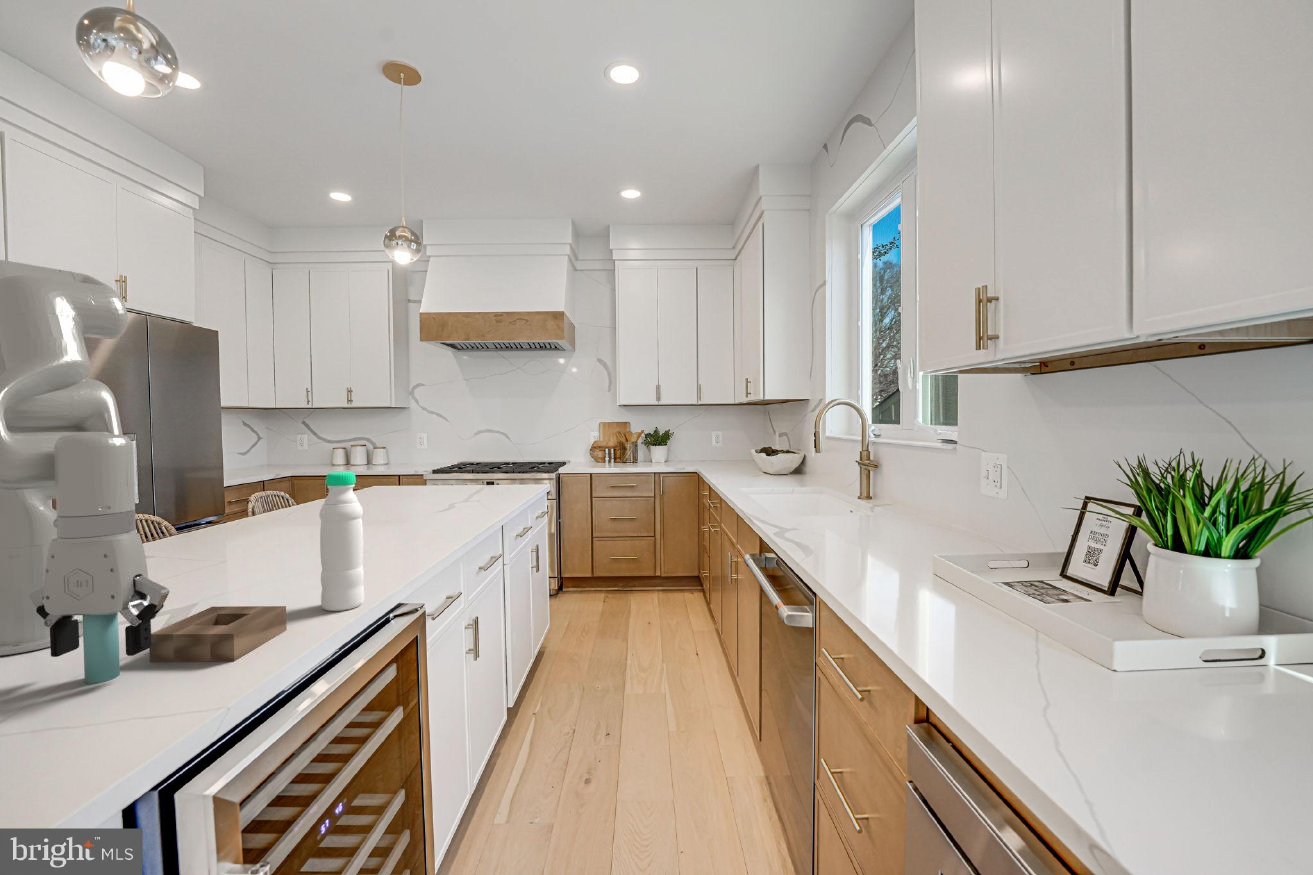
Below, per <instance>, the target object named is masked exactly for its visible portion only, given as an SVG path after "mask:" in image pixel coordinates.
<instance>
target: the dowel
mask: <svg viewBox="0 0 1313 875" xmlns="http://www.w3.org/2000/svg"><path fill="white" fill-rule="evenodd" d="M81 616H82V620H83V635H82V640H83V641H82V642H83V644H82V645H83V669H84V670H83V671H84V683H85V684H86V685H92V684H93V685H94V684H100V683H105V682H108V681H111V680H113V679H116V678H118V677H120V675H121V669H120V668H121V667H120V663H121V662H120V640H119V638H120V637H119V636H120V635H119V612H118V613H115V614H110V615H81Z"/></svg>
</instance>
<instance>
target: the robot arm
mask: <svg viewBox="0 0 1313 875" xmlns="http://www.w3.org/2000/svg"><path fill="white" fill-rule="evenodd" d="M128 320H129V319H128V311H127V307H126V305H125V302H124V300H123V299H122V297H121V295H120V294H119V293H118V292H117V291H116V290H115V289H114V288H112V286H109V285H108V284H106V283H104V282H102V281H100V279H97V278H95V277H94V276H91V275H89V274H85V273H80V272H76V271H69V270H66V269H65V270H64V269H57V268H52V267H45V266H39V265H35V264H34V265H33V264H30V263H28V264H27V263H23V262H17V261H10V260H5V259H4V260H3V259H0V657H1V656H9V655H14V654H21V653H28V652H32V651H38V650H43V649H46V648H50V656H51V657H52V658H57V657H58V658H59V657H60V656H62V655H63V656H64V655H65V654H68V653H71V652H72V651H75V650H77V649H79V648H80V637H81V636H83V619H75V616H82V615H110V614H115V613H118V614H119V613H120V615H121V616H122V617H123V618H124V619H125V620H126V622H128V623H129V625H127V626H125V629H124V630H125V631H124V635H125V636H124V637H125V638H124V640H125V641H124V642H125V655H126V656H127V657H130V656H131V657H132V656H136V655H139V653H142V652H144V651H146V650H149V648H150V647H151V633H152V625H151V624H152V622H151V620H154V619H155V618H156V617H157V614H158V613H160V612H161V611H162V610H163V608H164V607H165V606H164V605H165V604H164V603H165V602H166V600H167V598H168V596H169V594H170V589H169V588H168V587H165V586H163V585H161V584H159V583H158V582H156V581H153V580H151V579H149V572H148V571H149V570H148V563H147V558H146V553H145V552H146V551H145V547H144V545H143V540H142V537H141V535H140V533H139V532H137V526H136V522H137V520H136V500H135V499H136V496H135V495H136V494H135V491H136V490H135V467H134V466H135V464H134V463H135V462H134V460H135V459H134V446H133V442H132V440H131V439H130V438H129V437H128V436H126V435H124V433H123V429H122V424H121V418H120V413H119V408H118V405H117V400H116V397H115V395H114V394H113V391H112V390H111V389H110V387H109V386H108V385H106V384H105V383H103V382H101V381H100V380H97V379H92V378H88V377H89V376H90V374H91V372H92V364H91V362H90V357H89V354H88V351H87V347H86V343H85V340H84V338H93V339H102V340H114V339H115V340H116V339H118V338H120V337H121V336H122V335H123V334H124V333H125V332H126V329H127V327H128ZM50 500H55V506H56V507H55V508H56V509H54V508H53V507H52V506H50V504H48V501H50ZM148 597H149V600H148ZM147 601H148V602H147Z"/></svg>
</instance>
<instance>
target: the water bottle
mask: <svg viewBox="0 0 1313 875" xmlns="http://www.w3.org/2000/svg"><path fill="white" fill-rule="evenodd" d="M325 483H326V486H327V487H326V488H328V491H329V492H328V494H327V495H326V497H325V499H324V503H323V504H322V505H321V508H320V510H319V519H320V529H319V531H320V532H319V544H320V546H319V548H320V549H319V550H320V554H319V555H320V563H321V573H320V584H321V595H320V600H321V601H320V603H321V604H320V606H321V608H322V609H323V610H325V611H326V612H327V611H328V612H341V611H342V612H343V611H347V610H352V609H355V608H357V607H358V608H359V607H360V606H361V605H362V604H363V603H364V601H365V589H364V576H365V575H364V574H365V572H364V566H363V561H364V527H363V519H362V516H363V513H364V512H363V510H364V509H363V507H362V505H361V504H360V502H359V499H358V497H357V496H356V494H355V493H354V490H353V489H354V487H355V486H356V485H355V484H356V474H355V473H354V472H351V471H350V472H349V471H339V472H330V473H328V474H326V477H325Z"/></svg>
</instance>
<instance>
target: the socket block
mask: <svg viewBox="0 0 1313 875" xmlns="http://www.w3.org/2000/svg"><path fill="white" fill-rule="evenodd" d="M286 631H287V606H285V605H282V606H281V605H280V606H279V605H278V606H277V605H273V606H272V605H269V606H268V605H267V606H266V605H263V606H262V605H258V606H255V605H254V606H253V605H252V606H248V605H247V606H240V605H239V606H238V605H237V606H232V605H231V606H230V605H229V606H211V607H209V608H206V609H204V610H202V611H199V612H196V613H195V614H192V615H190V616H188V617H186V618H185V617H184V618H183V619H181V620H178V621H176V622H174V623H172V624H170V625H167V626H165V627H162V628H160V629H158V630H156V631H153V632H151V647H150V648H149V649H148V650H149V662H150V663H151V662H152V663H154V662H155V663H157V662H158V663H166V662H168V663H170V662H175V663H176V662H179V663H180V662H181V663H182V662H184V663H185V662H235V661H237V660H239V659H241V658H242V657H244V656H245V655H248V654H249V653H250V652H252V651H254V650H256V649H257V648H259V647H261V646H263V645H265V643H267V642H269V641H271V640H273V639H275V638H276V637H277V636H279V635H281V634H283V633H285V632H286Z"/></svg>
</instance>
